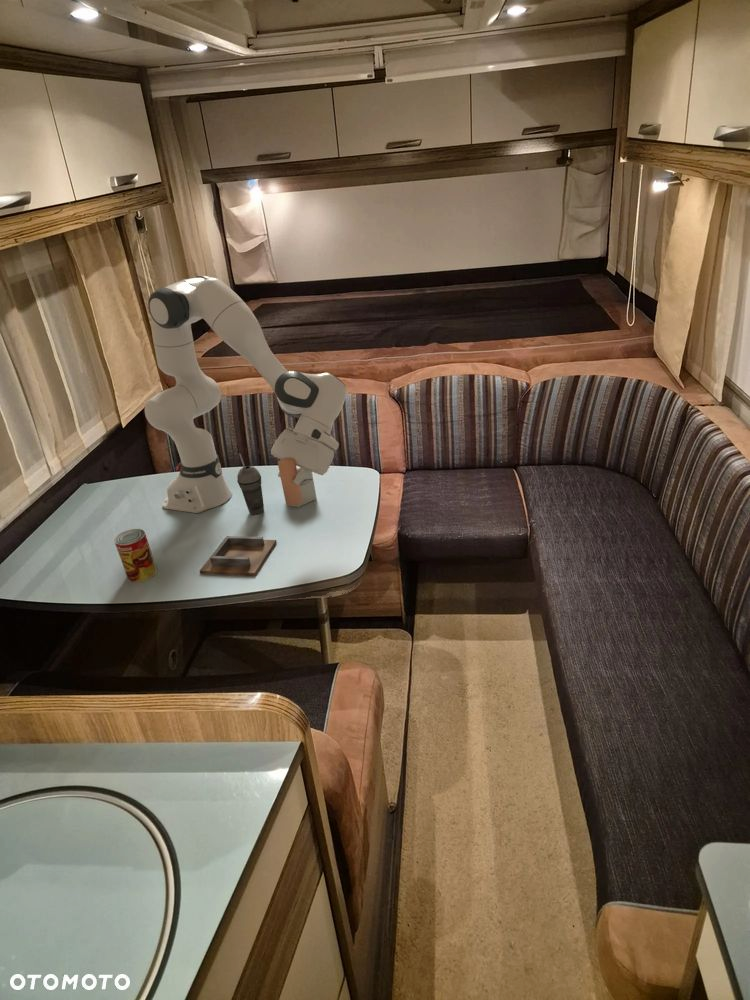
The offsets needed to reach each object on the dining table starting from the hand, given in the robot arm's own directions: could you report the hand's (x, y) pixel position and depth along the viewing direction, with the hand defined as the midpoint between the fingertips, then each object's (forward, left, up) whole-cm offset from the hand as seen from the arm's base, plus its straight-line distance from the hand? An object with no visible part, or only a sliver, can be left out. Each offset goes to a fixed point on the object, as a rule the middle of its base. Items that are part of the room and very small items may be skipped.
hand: (288, 480), depth 166 cm
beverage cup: (-21, +20, -21) cm, 36 cm away
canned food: (-41, -14, -21) cm, 49 cm away
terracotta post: (0, +1, -7) cm, 7 cm away
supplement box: (-9, +28, -21) cm, 36 cm away
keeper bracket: (-16, -5, -21) cm, 27 cm away
